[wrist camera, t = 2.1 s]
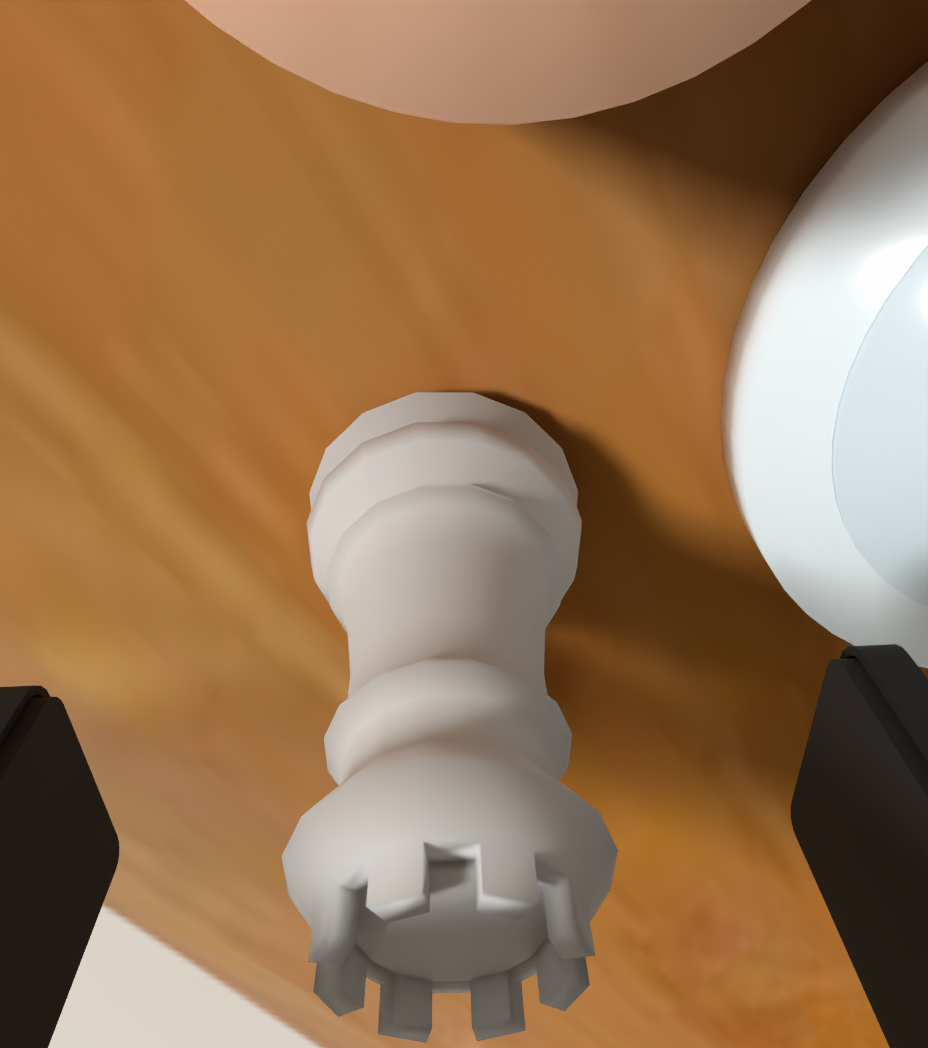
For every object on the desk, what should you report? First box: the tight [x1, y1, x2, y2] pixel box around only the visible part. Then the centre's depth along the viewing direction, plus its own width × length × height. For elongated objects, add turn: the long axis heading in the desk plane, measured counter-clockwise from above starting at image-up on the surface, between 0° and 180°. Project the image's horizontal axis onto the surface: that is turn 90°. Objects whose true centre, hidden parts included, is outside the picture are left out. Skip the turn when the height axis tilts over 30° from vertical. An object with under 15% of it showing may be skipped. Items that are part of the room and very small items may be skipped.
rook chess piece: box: [282, 392, 618, 1042], centre depth 10 cm, size 4×4×8 cm
